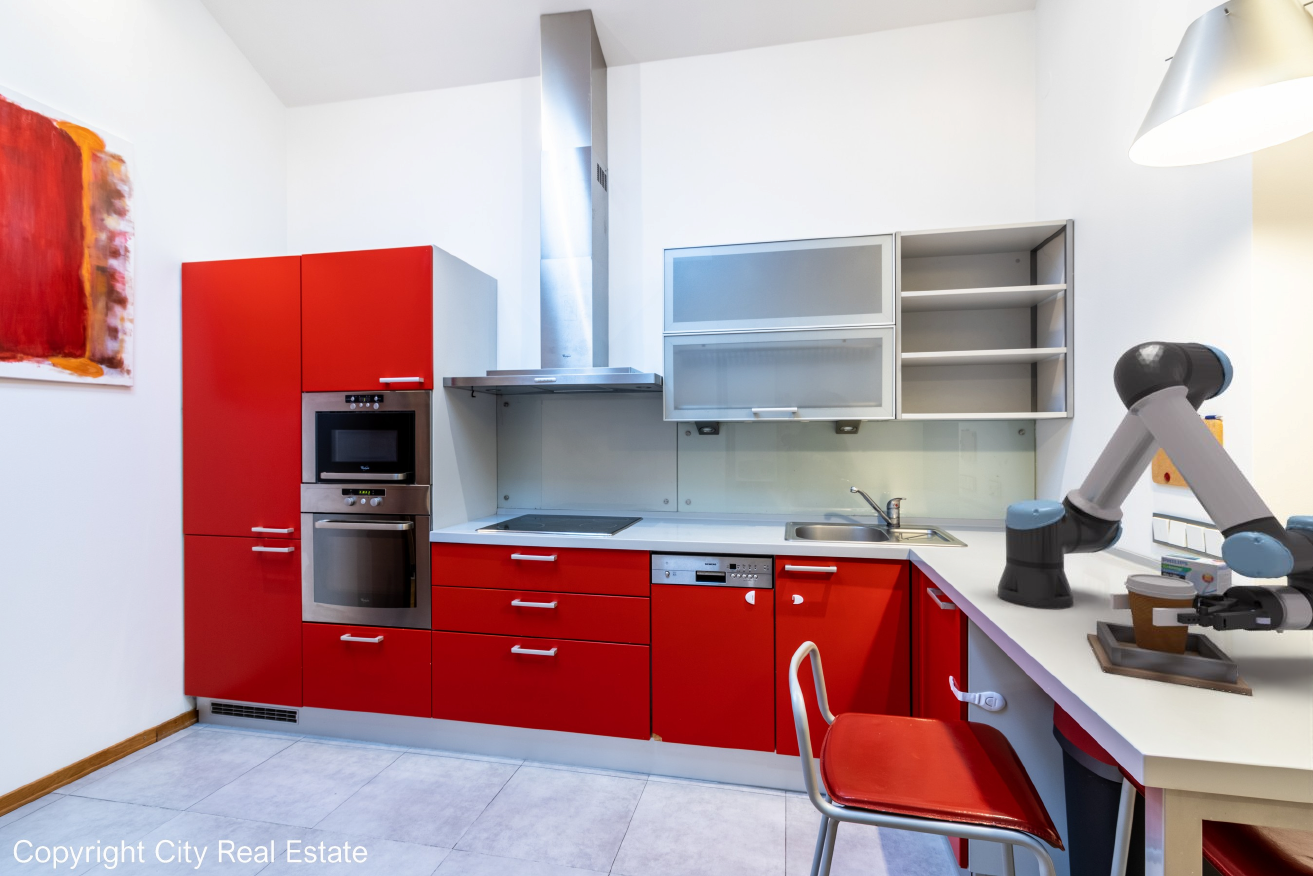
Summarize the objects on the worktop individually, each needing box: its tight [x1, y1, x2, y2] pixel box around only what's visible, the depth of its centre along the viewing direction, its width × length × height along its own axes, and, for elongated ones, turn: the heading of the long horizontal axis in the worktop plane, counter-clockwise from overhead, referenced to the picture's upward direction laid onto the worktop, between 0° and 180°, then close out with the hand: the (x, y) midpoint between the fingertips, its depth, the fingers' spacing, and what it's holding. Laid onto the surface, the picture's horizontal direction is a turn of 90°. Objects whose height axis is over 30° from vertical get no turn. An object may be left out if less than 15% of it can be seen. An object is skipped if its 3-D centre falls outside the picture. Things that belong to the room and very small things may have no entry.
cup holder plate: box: [1086, 620, 1253, 696], centre depth 100 cm, size 18×18×4 cm
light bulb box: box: [1160, 553, 1233, 606], centre depth 133 cm, size 11×7×11 cm, turn 25°
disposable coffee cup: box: [1124, 573, 1197, 655], centre depth 100 cm, size 10×10×12 cm
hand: (1132, 608), depth 100 cm, fingers closed on disposable coffee cup, 8 cm apart
